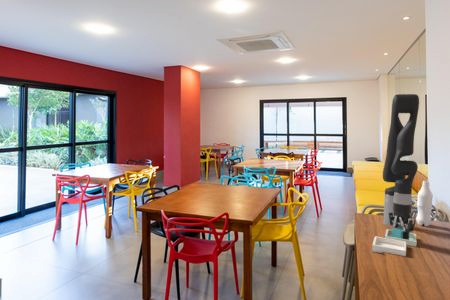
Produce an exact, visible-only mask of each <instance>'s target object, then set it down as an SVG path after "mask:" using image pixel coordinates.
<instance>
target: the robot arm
mask: <svg viewBox="0 0 450 300" xmlns="http://www.w3.org/2000/svg"><path fill="white" fill-rule="evenodd" d="M391 102H392V103H391V114H390V115H391V116H390V125H389V131H388V138H387V146H386V156H385V161H384V165H383V171H382V179H383V181H384V182H385V183H394V185H393V186H390V187H386V188H385V189H384V200H383V202H384V205H383V218H382V219H383V225H384V226H392V228H399V227H402V228H403V231H404V232H403V239H406V240H407V239H408V238H409V237H408V236H409V232H410V233H412V232H414V229H415V226H416V223H417V221H416V219H412V218H411V213H412V206H413V204H412V203H413V197H412V194H413V193H412V191H413V183H414V182H413V181H414V180H415V176H416V174H417V173H418V169H419V168H418V166H419V165H418V164H417V162H416V161H415V160H407V159H405V160H404V159H402V158H403V157H409V156H412V155H413V154H414V149H415V148H414V144H415V143H414V142H415V131H416V126H417V121H418V114H419V110H420V109H419V108H420V106H419V105H420V97H419V95H418V94H414V93H408V94H407V93H406V94H405V93H401V94H400V93H399V94H395V95H394V96H393V98H392V101H391ZM399 114H409V119H408V121H407V122H406V124H405V125H403V124H402V121H401V120H400V116H399ZM401 159H402V160H401ZM406 176H407V177H406Z"/></svg>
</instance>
